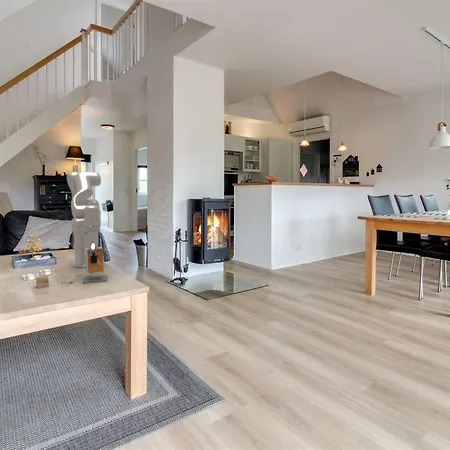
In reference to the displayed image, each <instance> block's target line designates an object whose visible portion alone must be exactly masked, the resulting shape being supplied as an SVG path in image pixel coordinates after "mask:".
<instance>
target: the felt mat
mask: <svg viewBox="0 0 450 450" xmlns="http://www.w3.org/2000/svg"><path fill="white" fill-rule="evenodd" d="M103 282H104V283H105V282H108V274H101V275H92V276H91V275H90V276H84V277H83V280H82V284H92V283H94V284H95V283H103Z"/></svg>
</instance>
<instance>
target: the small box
mask: <svg viewBox="0 0 450 450" xmlns="http://www.w3.org/2000/svg"><path fill="white" fill-rule="evenodd" d="M91 250H92V248H91V249H90V250H89V251H88V248H85V263H86V267H85V271H86V273H88V274H95V273H104V248H103V247H101V246H98V250H96V255H97V263H91Z"/></svg>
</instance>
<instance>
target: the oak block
mask: <svg viewBox="0 0 450 450" xmlns="http://www.w3.org/2000/svg"><path fill="white" fill-rule="evenodd" d="M35 280H36V281H35V282H36V288H37V289H42V288H49V287H50V283H49V276H48V275H41V276H36V277H35Z"/></svg>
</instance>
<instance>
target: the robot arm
mask: <svg viewBox="0 0 450 450" xmlns="http://www.w3.org/2000/svg"><path fill="white" fill-rule="evenodd" d="M66 181H67V185H68V187H69V189H70V191H71V202H70V206H71V207H70V209H71V213H72V214H71V215H72V217H73V218H72V219H71V221H70V222H71V224H70V225H71V229H72V235H73V247H74V261H75V262H74V263H72V267H74V268H86V263H85V248H88V251H89V250H90V249H91V248H92V250H91V263H97V255H96V250H98V247H99V232H101V226H102V225H101V224H102V223H101V207H100V202H99V200H97V199H96V198H94V199H93V198H91V197H93V194H94V189H93V187H99V186H100V185H101V183H102V178H101V175H100V173H99V172H97V171H73V172H72V171H71V172H69V173H67V175H66ZM90 198H91V199H90Z"/></svg>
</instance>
